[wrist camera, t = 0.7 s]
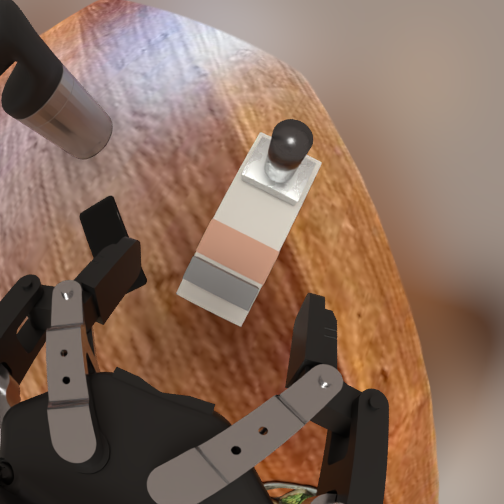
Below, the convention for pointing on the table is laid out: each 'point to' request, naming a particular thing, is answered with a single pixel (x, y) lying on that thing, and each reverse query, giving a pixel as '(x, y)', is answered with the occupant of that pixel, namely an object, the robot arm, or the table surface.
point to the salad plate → (292, 493)
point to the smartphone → (106, 230)
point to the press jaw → (282, 162)
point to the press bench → (240, 247)
